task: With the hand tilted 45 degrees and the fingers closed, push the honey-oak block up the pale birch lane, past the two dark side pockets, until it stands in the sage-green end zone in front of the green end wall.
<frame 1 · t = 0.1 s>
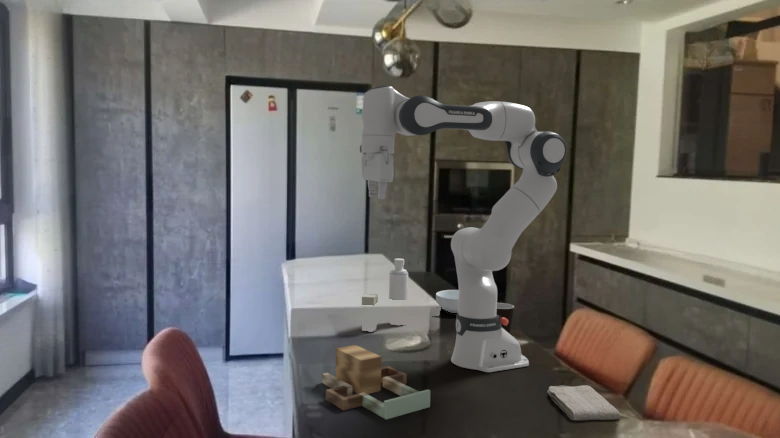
hand: (376, 198, 170), 48 cm above the table, tool pointing down, fingers open, 8 cm apart
skincare box: (369, 330, 216), on the table
cereal bowl: (457, 312, 245), on the table
end wall: (407, 412, 145), on the table
washcloth: (581, 408, 152), on the table
coffee mug: (499, 334, 215), on the table
lane: (375, 395, 155), on the table
block: (357, 386, 162), on the table
spray bottle: (397, 324, 225), on the table
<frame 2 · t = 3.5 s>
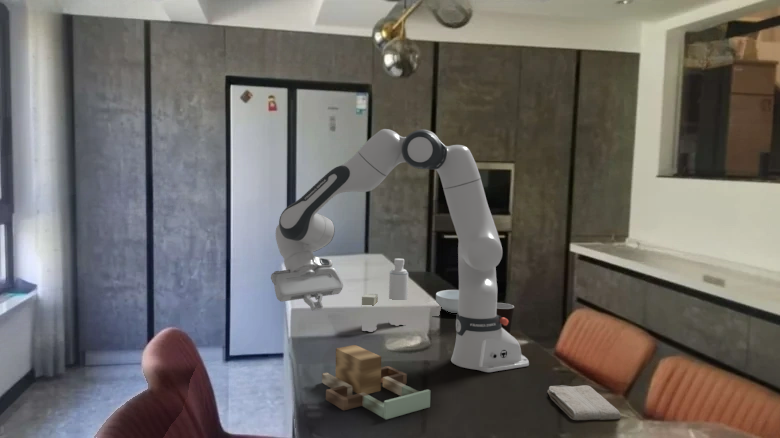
hand: (317, 309, 177), 16 cm above the table, tool tilted 45°, fingers closed
nothing on the table moved.
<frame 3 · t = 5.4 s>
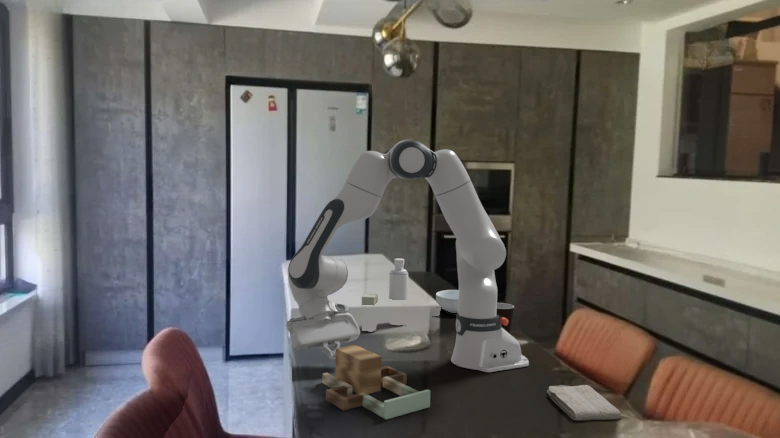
hand: (335, 357, 170), 4 cm above the table, tool tilted 45°, fingers closed
nothing on the table moved.
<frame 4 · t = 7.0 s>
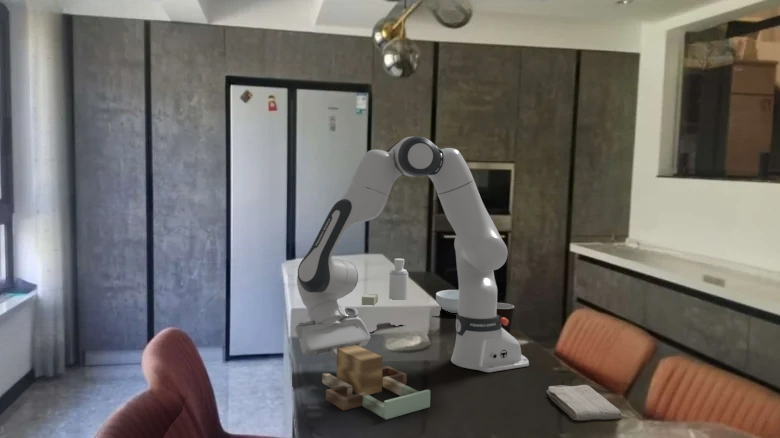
hand: (345, 363, 166), 4 cm above the table, tool tilted 45°, fingers closed, pressing on block
block: (358, 386, 161), on the table, touching gripper
everything else where it was.
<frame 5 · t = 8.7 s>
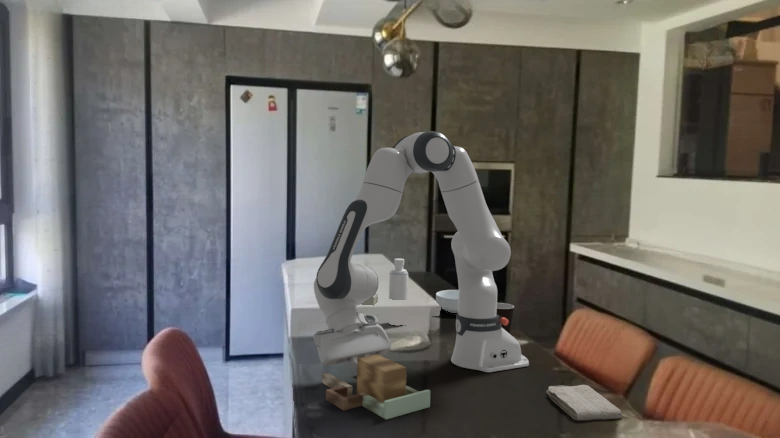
hand: (365, 373, 159), 4 cm above the table, tool tilted 45°, fingers closed, pressing on block
block: (380, 398, 154), on the table, touching gripper
everything else where it was.
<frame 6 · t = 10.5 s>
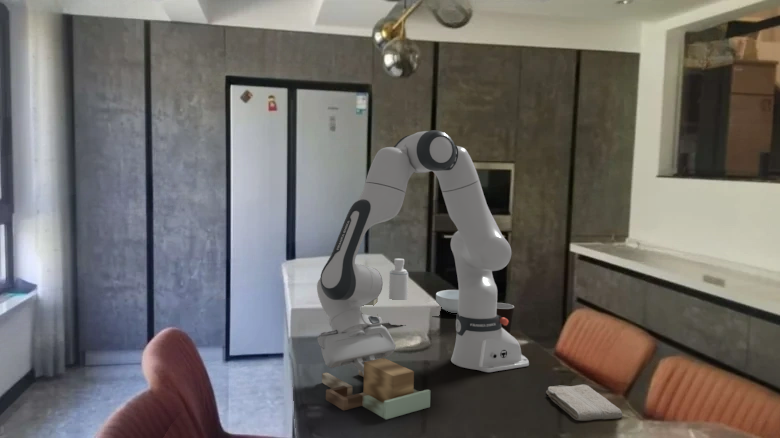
hand: (370, 375, 157), 4 cm above the table, tool tilted 45°, fingers closed
block: (387, 402, 151), on the table
everything else where it was.
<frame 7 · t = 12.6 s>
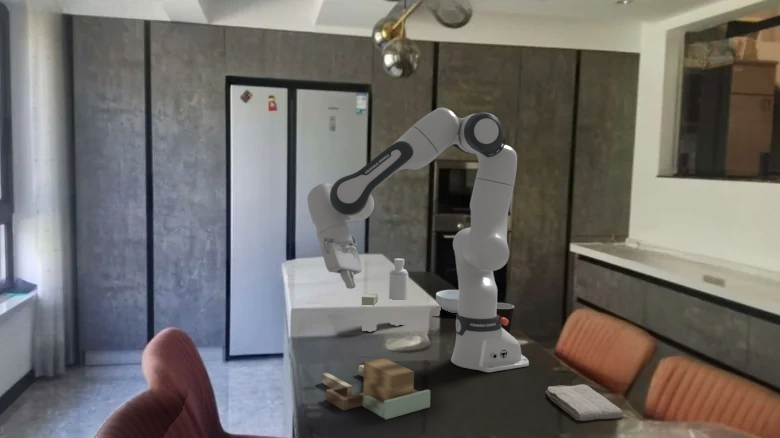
hand: (351, 287, 170), 23 cm above the table, tool tilted 30°, fingers closed
nothing on the table moved.
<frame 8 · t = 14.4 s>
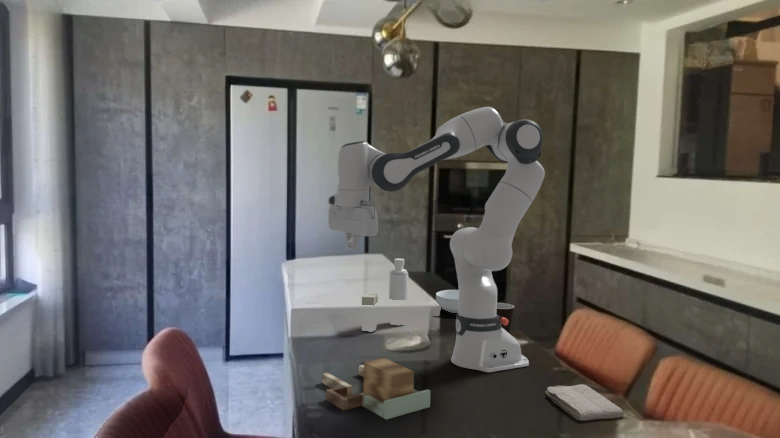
hand: (352, 249, 176), 33 cm above the table, tool pointing down, fingers closed
nothing on the table moved.
at the end: block 7.4 cm from the end wall (horizontally); block tilted 0° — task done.
